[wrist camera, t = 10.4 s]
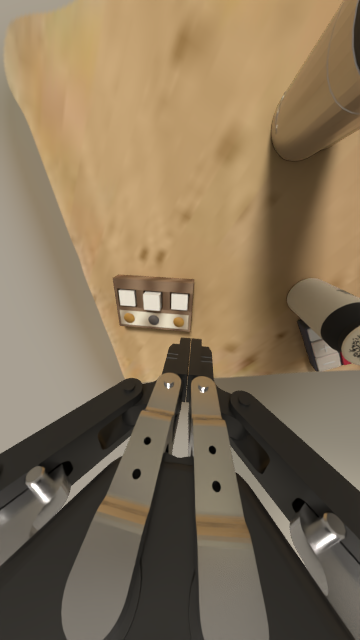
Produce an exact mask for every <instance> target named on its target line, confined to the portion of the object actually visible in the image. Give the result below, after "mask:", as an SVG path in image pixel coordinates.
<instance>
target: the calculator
mask: <svg viewBox="0 0 360 640" xmlns="http://www.w3.org/2000/svg"><path fill="white" fill-rule="evenodd" d="M297 322H298V325H299V329H300V332H301V335H302V337H303V340H304V344H305V347H306V351H307V354H308V357H309V360H310V364H311V365H312V366H313V368H314V369H315V370H316V371H325V370H328V369H332V368H336V367H340V366H341V365H347V364H351V363H350V362H349V361H347V360H346V359H345V358H344V357H343V355H342V352H338V351H336V350H334V349H332V348H331V347H330V346H329V345H328V344H327V343H326V342H325V341H324V340H323V339H321V338H320V337H319V336H318V335H317V334H316V333H315V332H314V331H313V330H312V329H311V328H310V327H309V326H308V325H307V324H306V323H305V322H304V321H303V320H302V319H300V320H298V321H297Z"/></svg>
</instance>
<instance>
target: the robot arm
mask: <svg viewBox="0 0 360 640" xmlns="http://www.w3.org/2000/svg"><path fill="white" fill-rule="evenodd" d="M359 129H360V0H343V2H342V4H341V5H340V7H339V8H338V10H337V12H336V13H335V15H334V16H333V18H332V19H331V21H330V23H329V24H328V26H327V27H326V29H325V31H324V32H323V34H322V35H321V37H320V38H319V40H318V42H317V43H316V45H315V46H314V48H313V50H312V51H311V53H310V54H309V56H308V57H307V59H306V61H305V62H304V64H303V65H302V67H301V69H300V70H299V72H298V73H297V75H296V76H295V78H294V80H293V81H292V83H291V84H290V86H289V88H288V89H287V91H286V92H285V93H284V95H283V97H282V99H281V101H280V102H279V104H278V106H277V109H276V111H275V114H274V118H273V121H272V129H271V133H272V142H273V146H274V148H275V150H276V152H277V153H278V154H279V155H280V156H281V157H282V158H284V159H286V160H289V161H299V160H303V159H306V158H308V157H310V156H312V155H313V154H315V153H316V152H318V151H320V150H321V149H327V148H329V147H331V146H332V145H334V144H336V143H337V142H339V141H341V140H342V139H344V138H346V137H347V136H349V135H351V134H352V133H354V132H355V131H357V130H359ZM190 343H191V351H190ZM189 356H190V361H189ZM188 367H189V372H188ZM187 377H188V385H187ZM186 386H187V397H186ZM185 397H186V402H189V413H188V443H189V444H188V445H189V446H188V457H183V458H177V457H175V456H173V455H172V450H173V444H174V439H175V433H176V429H177V424H178V419H179V414H180V410H181V403H182V402H185ZM128 437H130V439H129V441H128V444H127V446H126V449H125V451H124V454H123V456H121V457H119V458H118V459H116V460H115V461H113V462H112V463H110V464H109V465H108V466H107V467H106V468H105V469H104V470H103V471H102V472H100V473H99V474H98V475H97V476H96V477H95V478H94V479H93V480H92V481H91V482H90V483H89V484H88V485H87V486H86V487H84V488H83V489H82V490H81V491H80V492H79V493H78V494H77V495H76V496H75V497H74V498H73V499H72V500H71V501H69V502H68V503H67V504H66V505H65V506H64V507H63V508H62V506H63V505H64V503H65V502H66V500H67V498H68V496H69V493H70V488H71V486H72V485H73V484H74V483H75V482H76V481H77V480H79V479H80V478H81V477H82V476H83V475H84V474H86V473H87V472H88V471H89V470H91V469H92V468H93V467H94V466H95V465H96V464H98V463H99V462H100V461H101V460H102V459H104V458H105V457H106V456H107V455H108V454H110V453H111V452H112V451H113V450H114V449H115V448H117V447H118V446H119V445H120V444H121V443H123V442H124V441H125V440H126V439H127V438H128ZM230 445H231V447H232V448H233V449H234V451H235V452H236V453H237V454H238V456H239V457H240V458H241V459H242V461H243V462H244V463H245V465H246V466H247V467H248V469H249V470H250V471H251V472H252V474H253V475H254V476H255V478H256V479H257V480H258V482H259V483H260V484H261V485H262V487H263V488H264V489H265V491H266V492H267V493H268V494H269V496H270V497H271V498H272V500H273V501H274V502H275V503H276V505H277V506H278V507H279V508H280V510H281V511H282V512H283V514H284V515H285V516H286V518H287V519H288V520H289V521H290V533H291V538H292V541H293V544H294V546H295V548H296V550H297V552H298V553H299V555H300V557H301V558H302V560H303V561H304V563H305V565H304V564H303V563H302V561H301V560H300V558H299V557H298V555H297V554H296V553H295V551H294V550H293V548H292V547H291V545H290V544H289V543H288V541H287V540H286V538H285V537H284V535H283V534H282V532H281V531H280V529H279V528H278V527H277V525H276V524H275V522H274V521H273V519H272V518H271V516H270V515H269V513H268V512H267V511H266V509H265V508H264V506H263V505H262V503H261V502H260V500H259V499H258V498H257V496H256V495H255V493H254V492H253V490H252V489H251V488H250V486H249V485H248V484H247V483H246V481H244V479H243V478H242V477H241V476H240V475H239V474H237V473H236V472H235V468H234V463H233V458H232V452H231V447H230ZM61 508H62V509H61ZM60 509H61V510H60ZM59 510H60V511H59ZM58 511H59V512H58ZM57 512H58V513H57ZM56 513H57V514H56ZM305 566H306V567H305ZM0 640H360V491H359V490H357V489H356V488H355V487H354V486H353V485H352V484H351V483H350V482H349V481H347V480H346V479H345V478H344V477H343V476H342V475H341V474H340V473H339V472H337V471H336V470H335V469H334V468H333V467H332V466H331V465H330V464H328V463H327V462H326V461H325V460H324V459H323V458H322V457H321V456H319V455H318V454H317V453H316V452H315V451H314V450H313V449H312V448H311V447H309V446H308V445H307V444H306V443H305V442H303V440H302V439H301V438H299V437H298V436H297V435H296V434H295V433H294V432H293V431H292V430H290V429H289V428H288V427H287V426H286V425H285V424H284V423H282V422H281V421H280V420H279V419H278V418H277V417H276V416H275V415H274V414H273V413H271V412H270V411H269V410H268V409H267V408H266V407H265V406H264V405H262V404H261V403H260V402H259V401H258V400H257V399H256V398H255V397H253V396H252V395H251V394H249V393H247V392H245V391H235V392H233V393H232V394H230V393H228V392H225V391H223V390H221V389H220V388H218V387H217V385H216V384H215V382H214V378H213V364H212V352H211V350H210V349H209V347H204V346H202V339H192V340H191V338H181V340H180V344H172V345H171V346H170V347H169V350H168V354H167V358H166V361H165V365H164V369H163V372H162V375H161V376H159V378H158V379H157V380H156V381H154V382H152V383H146V384H142V383H141V381H140V380H138V379H135V378H129V379H125V380H123V381H122V382H120V383H118V384H117V385H115V386H114V387H112V388H110V389H108V390H106V391H105V392H103V393H102V394H100V395H98V396H96V397H95V398H93V399H91V400H90V401H88V402H86V403H85V404H83V405H82V406H80V407H78V408H76V409H75V410H73V411H71V412H70V413H68V414H66V415H65V416H63V417H61V418H60V419H58V420H57V421H55V422H53V423H51V424H50V425H48V426H46V427H45V428H43V429H41V430H40V431H38V432H36V433H35V434H33V435H31V436H30V437H28V438H26V439H24V440H23V441H21V442H19V443H18V444H16V445H15V446H13V447H11V448H9V449H8V450H6V451H4V452H3V453H1V454H0Z"/></svg>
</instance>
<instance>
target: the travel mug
mask: <svg viewBox="0 0 360 640" xmlns="http://www.w3.org/2000/svg"><path fill="white" fill-rule="evenodd" d="M287 304H288V306H289V307H290V309H291V310H292V311H294V312H295V313H296V314H297V315H298V316H299V317H300V318H301V319H302V320H303V321H304V322H305V323H306V324H307V325H308V326H309V327H310V328H311V329H312V330H313V331H314V332H315V333H316V334H317V335H318V336H319V337H320V338H321V339H323V340H324V341H325V342H326V343H327V344H328V345H329V346H330V347H331V348H332V349H334V350H336V351H338V352H342V355H343V357H344V358H345V359H346V360H347V361H349V362H350V363H353V364H356V365H360V298H358V297H356V296H354V295H352V294H350V293H348V292H346V291H344V290H341V289H339V288H337V287H335V286H333V285H331V284H329V283H327V282H325V281H322V280H320V279H317V278H309V279H305V280H302V281H300V282H298V283H297V284H296V285H294V286H293V287H292V289H291V290H290V292H289V294H288V296H287Z"/></svg>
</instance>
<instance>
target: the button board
mask: <svg viewBox="0 0 360 640" xmlns="http://www.w3.org/2000/svg"><path fill="white" fill-rule="evenodd" d="M113 283H114V290H115V297H116V303H117V310H118V317H119V323H120V326H131V327H142V328H153V329H165V330H176V331H188V332H190V327H191V314H192V300H193V287H194V279H179V278H163V277H147V276H132V275H117V276H115V277H114V278H113ZM120 289H132V290H136V296H137V305H136V306H124V305H120V298H119V291H118V290H120ZM145 291H158V292H162V307H161V309H160V311H154V310H144V303H143V294H144V293H145ZM172 292H174V293H188V294H189V295H188V308H187V310H175V309H171V294H172Z"/></svg>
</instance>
